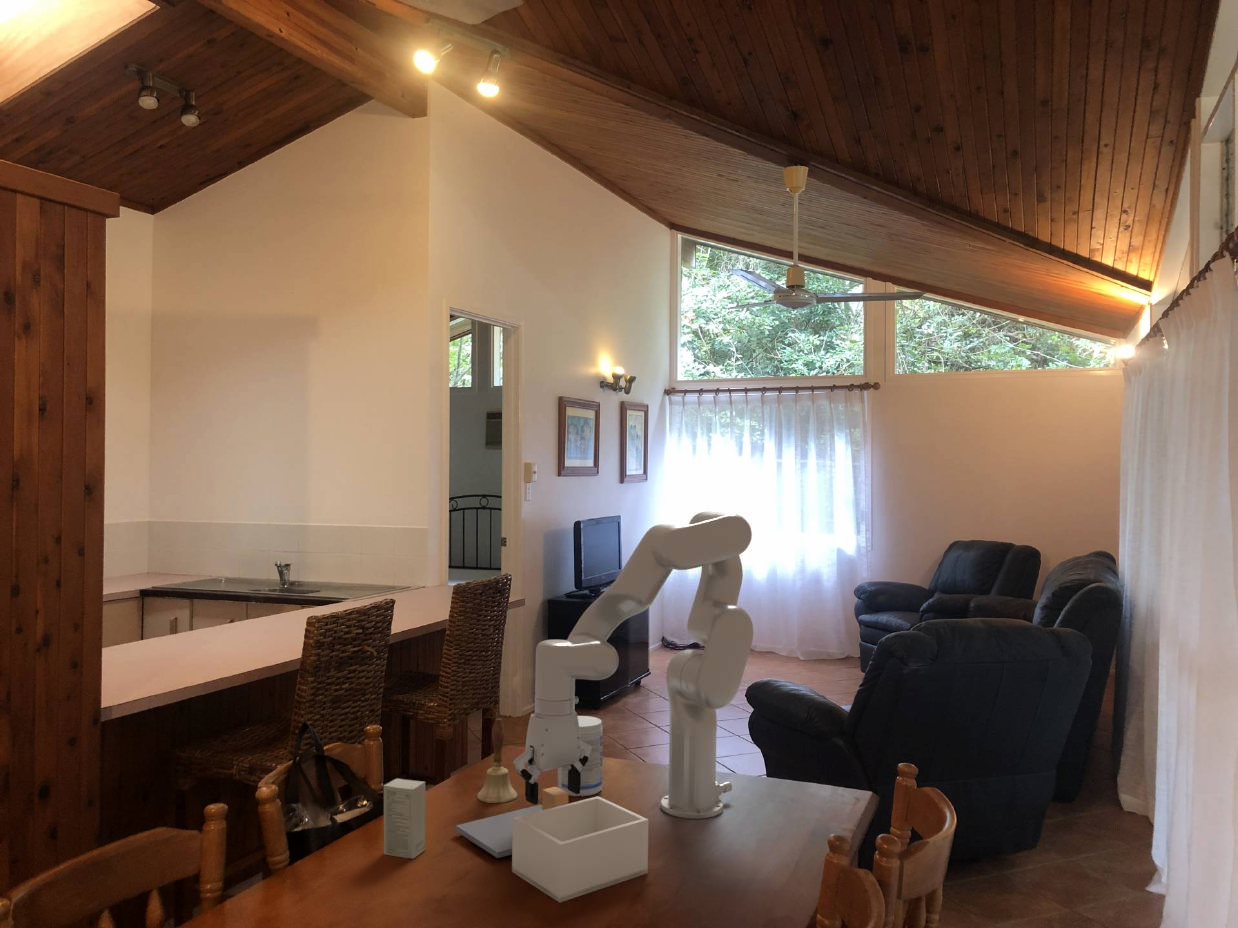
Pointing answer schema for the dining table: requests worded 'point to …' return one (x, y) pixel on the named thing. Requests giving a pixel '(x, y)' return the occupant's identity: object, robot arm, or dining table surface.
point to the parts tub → (579, 847)
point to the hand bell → (497, 772)
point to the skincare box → (404, 818)
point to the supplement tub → (593, 767)
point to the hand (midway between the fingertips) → (553, 796)
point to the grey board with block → (507, 824)
